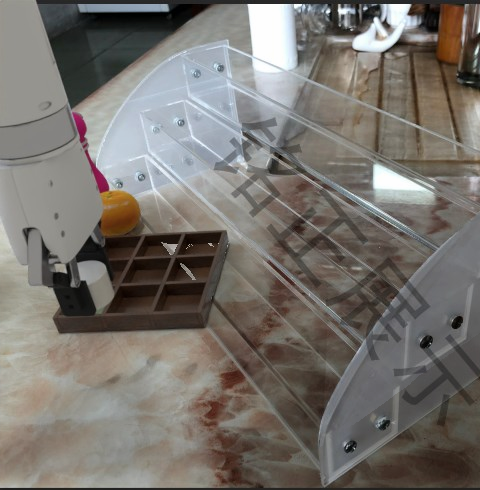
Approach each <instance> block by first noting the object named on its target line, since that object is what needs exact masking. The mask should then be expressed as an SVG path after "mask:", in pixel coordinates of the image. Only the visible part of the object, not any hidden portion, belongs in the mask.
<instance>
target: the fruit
mask: <svg viewBox="0 0 480 490" xmlns="http://www.w3.org/2000/svg"><path fill="white" fill-rule="evenodd" d="M100 195H101V199H102V204H103V213H102V216H101V221H102V223H101V232H102V234H103V236H111V235H127V234H128V233H130V232H131V231H132V230H134V229H135V228H136V226H137V225H138V223H139V221H140V218H141V206H140V203H139V202H138V200H137V199H136V197H135V196H133V194H131V193H129V192H127V191H125V190H120V189H119V190H118V189H117V190H109V191H107V192H103V193H100Z"/></svg>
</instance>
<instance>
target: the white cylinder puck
mask: <svg viewBox="0 0 480 490" xmlns="http://www.w3.org/2000/svg"><path fill="white" fill-rule="evenodd" d="M77 265H78V269H79V274H80V279H81V280H86V283H87V285H88V288H89V291H90V293H91V296H92V299H93V301H94V304H95V307H96V310H99V309H101V308H103V307H105V306H106V305H107V304H109V303H110V302H111V300H112V299H113V297H114V289H113V286H112V283H111V280H110V277H109V274H108V271H107V268H106V266H105V265H104V264H103V263H102V262H99V261H93V260H91V261H83V262H79V263H77ZM62 272H63V273H67V270H66V268H65V269H64V270H63V271H62Z"/></svg>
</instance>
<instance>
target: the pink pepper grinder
mask: <svg viewBox="0 0 480 490" xmlns="http://www.w3.org/2000/svg"><path fill="white" fill-rule="evenodd" d="M73 112H74V111H72V114H73V118H74V121H75V124H76V127H77V130H78V133H79V136H80V139H79V141H80V143H81V145H82V147H83V149H84V152H85V154H86V156H87V159H88V161H89V164H90V166H91V169H92V171H93V174H94V177H95V180H96V183H97V186H98V189H99V192H100V193H103V192H107V191H110V185H109V182H108V180H107V178H106V176H105V175H104V174H103V173H102V171H101V170H100V169H99V168H98V167H97V165H95V163H94V161H93V160H92V158H91V155H90V154H89V147H90V143H89V142H88V138H87V137H86V135H87V131H88V128H87V124H86V122H85V119H84V118H83V119H82V117H81V116H79V115H78V114H76V113H73Z"/></svg>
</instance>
